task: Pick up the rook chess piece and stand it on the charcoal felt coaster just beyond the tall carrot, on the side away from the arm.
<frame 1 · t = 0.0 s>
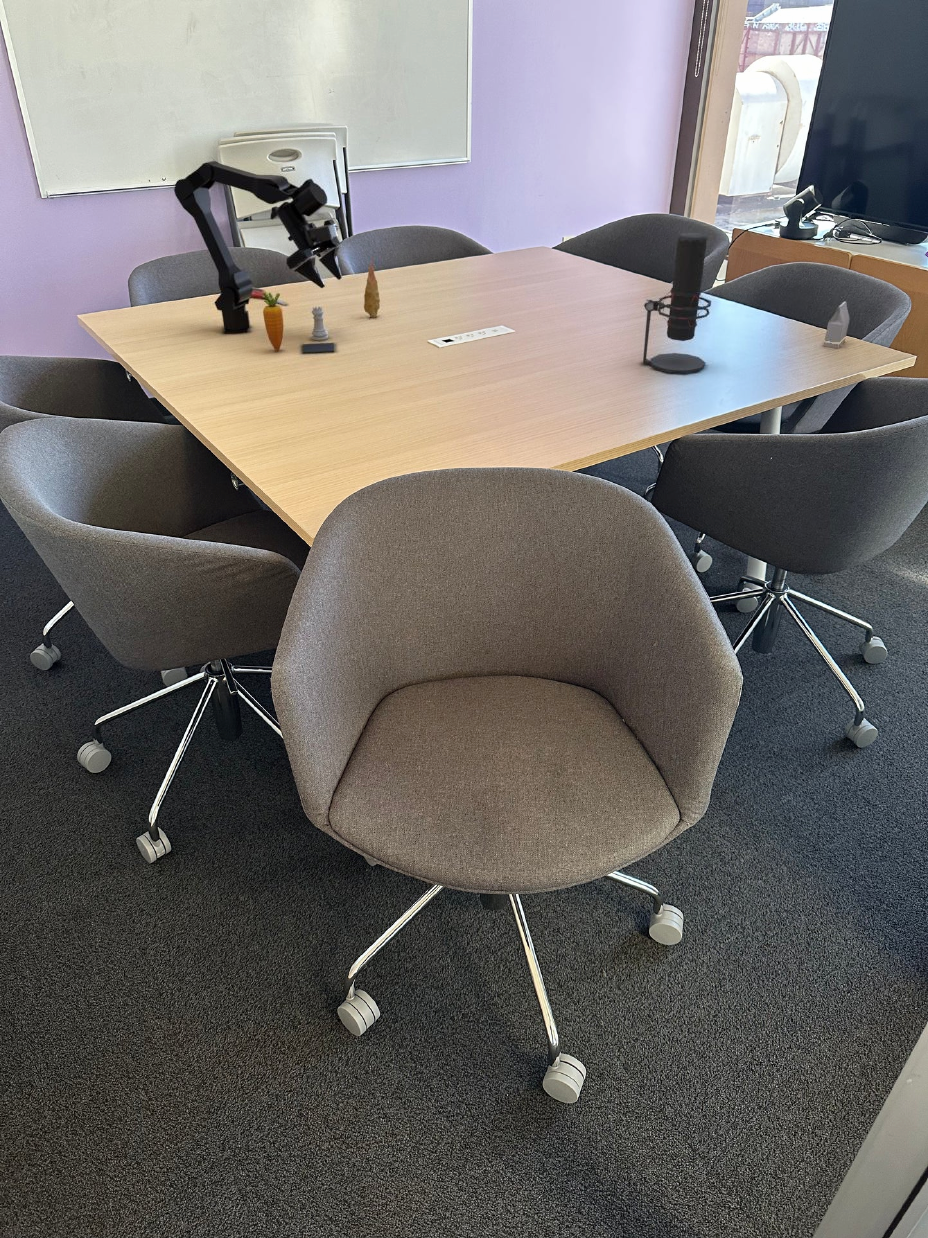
hand: (332, 282, 232), 15 cm above the table, tool tilted 35°, fingers open, 9 cm apart
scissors: (268, 298, 277), on the table
grey pointed faceted piece: (833, 344, 233), on the table
rook chess piece: (320, 339, 242), on the table
carrot: (277, 351, 233), on the table
coaster: (318, 348, 234), on the table
microphone: (674, 366, 220), on the table
stone tool: (373, 318, 258), on the table
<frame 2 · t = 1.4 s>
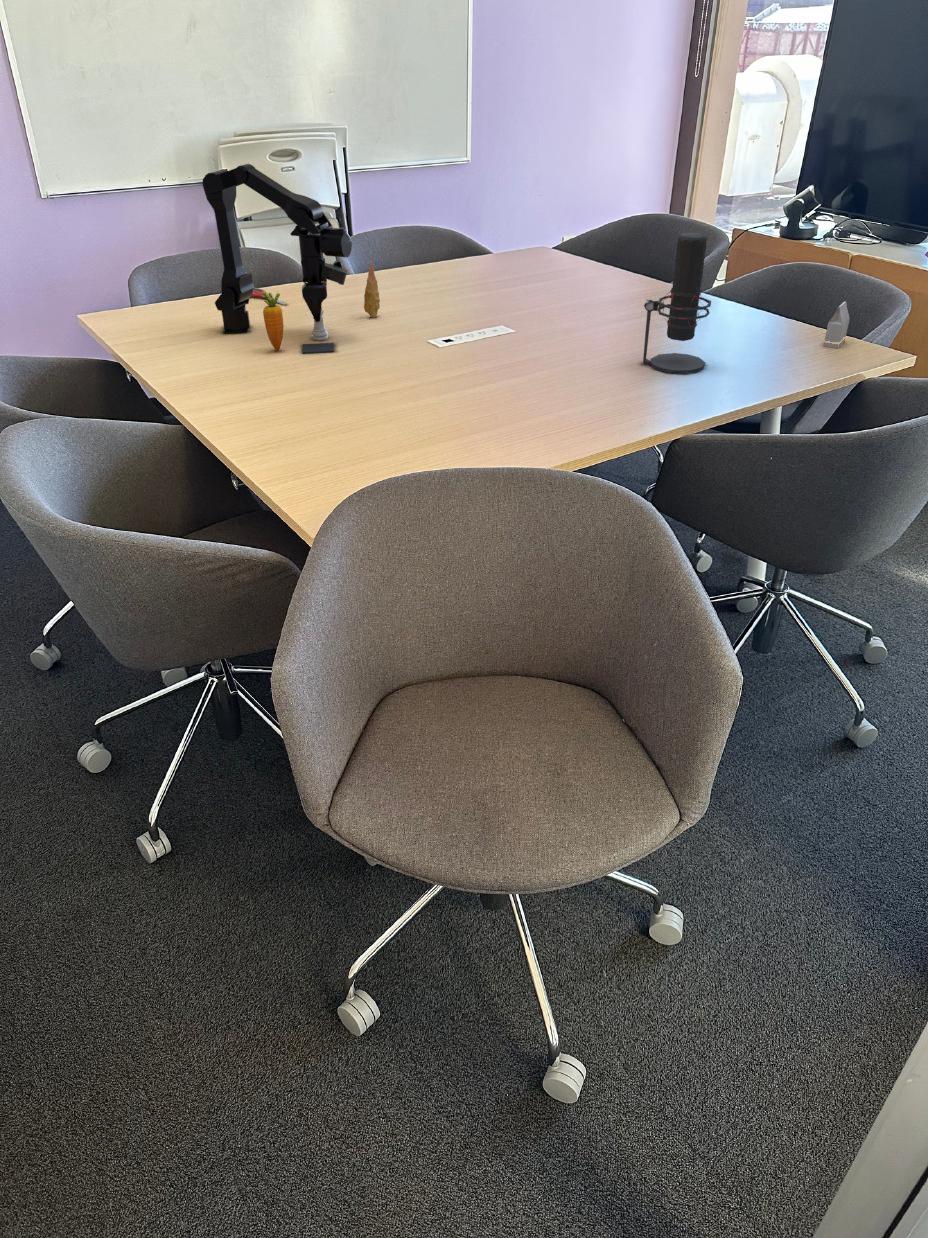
hand: (317, 316, 239), 6 cm above the table, tool pointing down, fingers open, 9 cm apart
nothing on the table moved.
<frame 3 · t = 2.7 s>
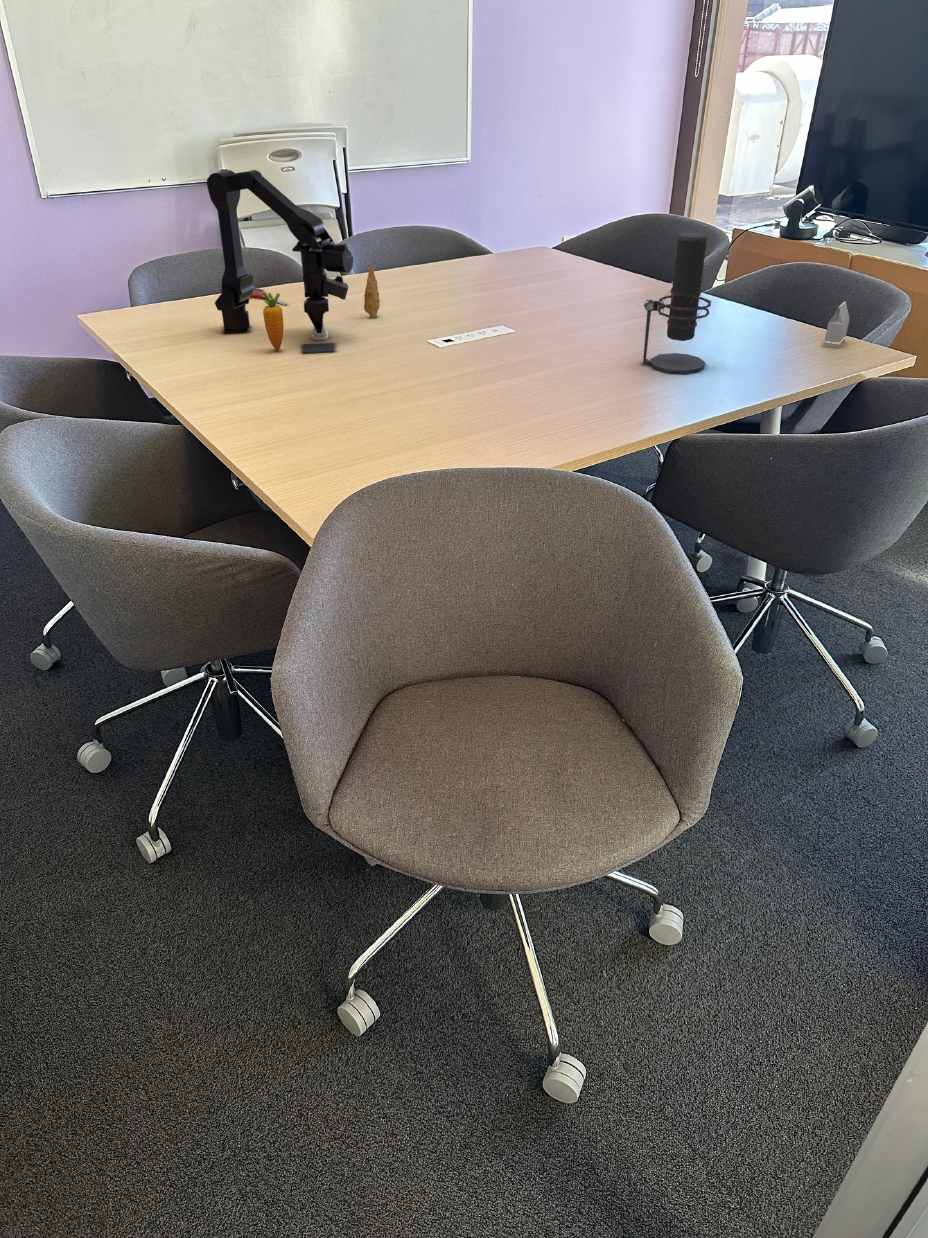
hand: (319, 330, 241), 2 cm above the table, tool pointing down, fingers closed on rook chess piece, 3 cm apart
rook chess piece: (320, 339, 242), on the table, touching gripper
everything else where it was.
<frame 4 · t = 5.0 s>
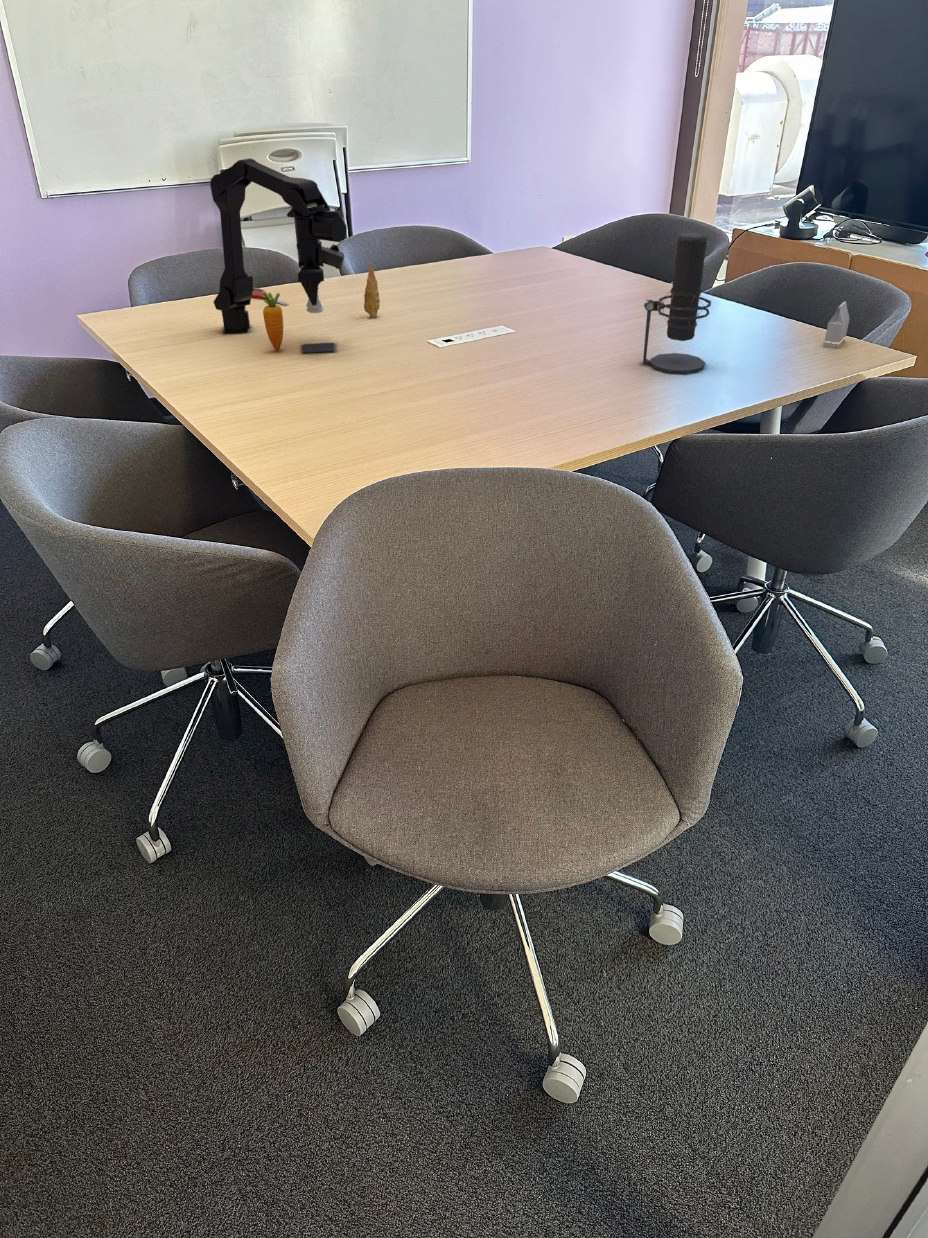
hand: (314, 302, 229), 11 cm above the table, tool pointing down, fingers closed on rook chess piece, 3 cm apart
rook chess piece: (315, 311, 231), point 9 cm above the table, touching gripper
everything else where it was.
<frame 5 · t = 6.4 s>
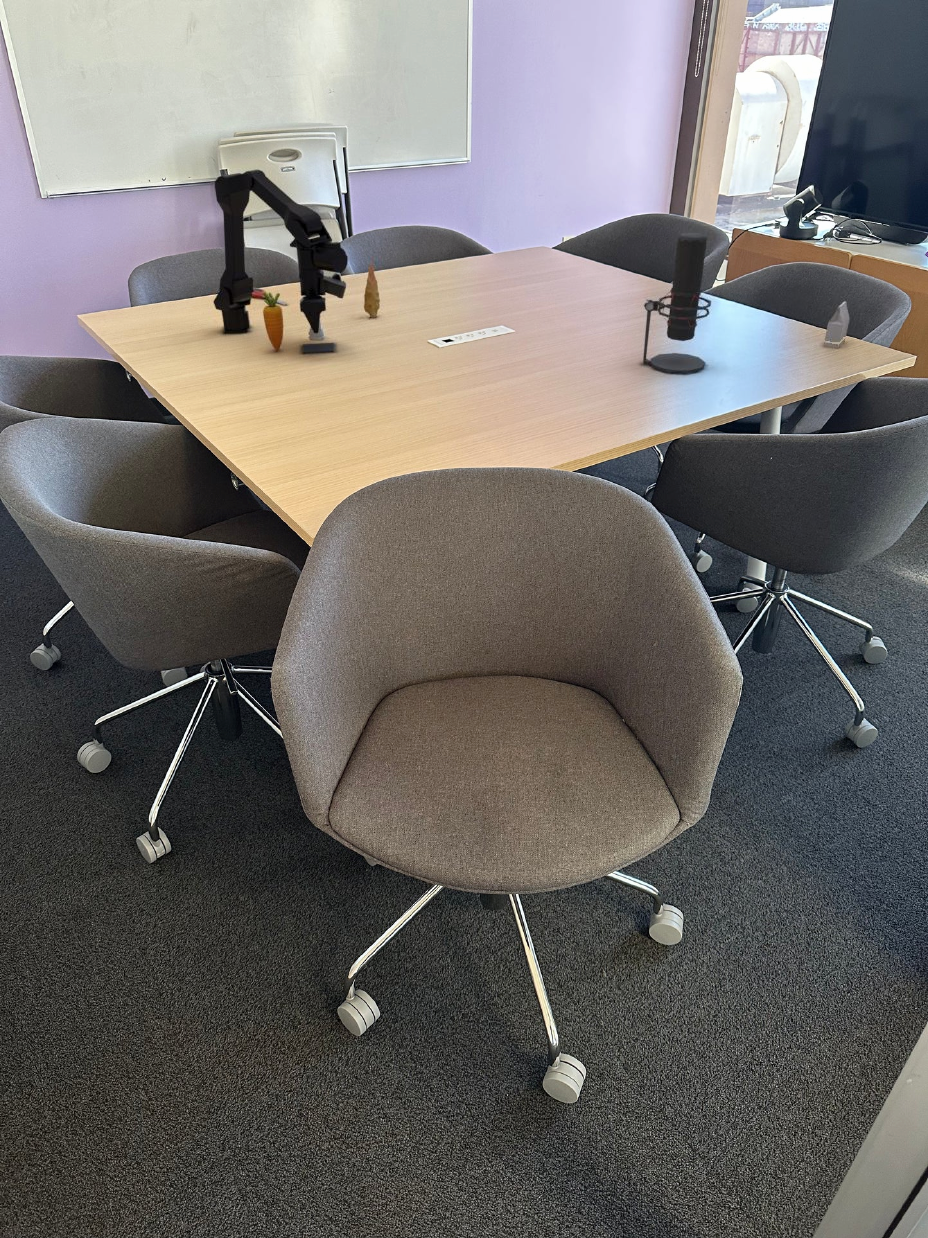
hand: (316, 330, 232), 5 cm above the table, tool pointing down, fingers closed on rook chess piece, 3 cm apart
rook chess piece: (317, 339, 233), point 2 cm above the table, touching gripper
everything else where it was.
when the fingers open (2 cm above the table, at t = 7.2 s): rook chess piece stays where it is, resting on coaster.
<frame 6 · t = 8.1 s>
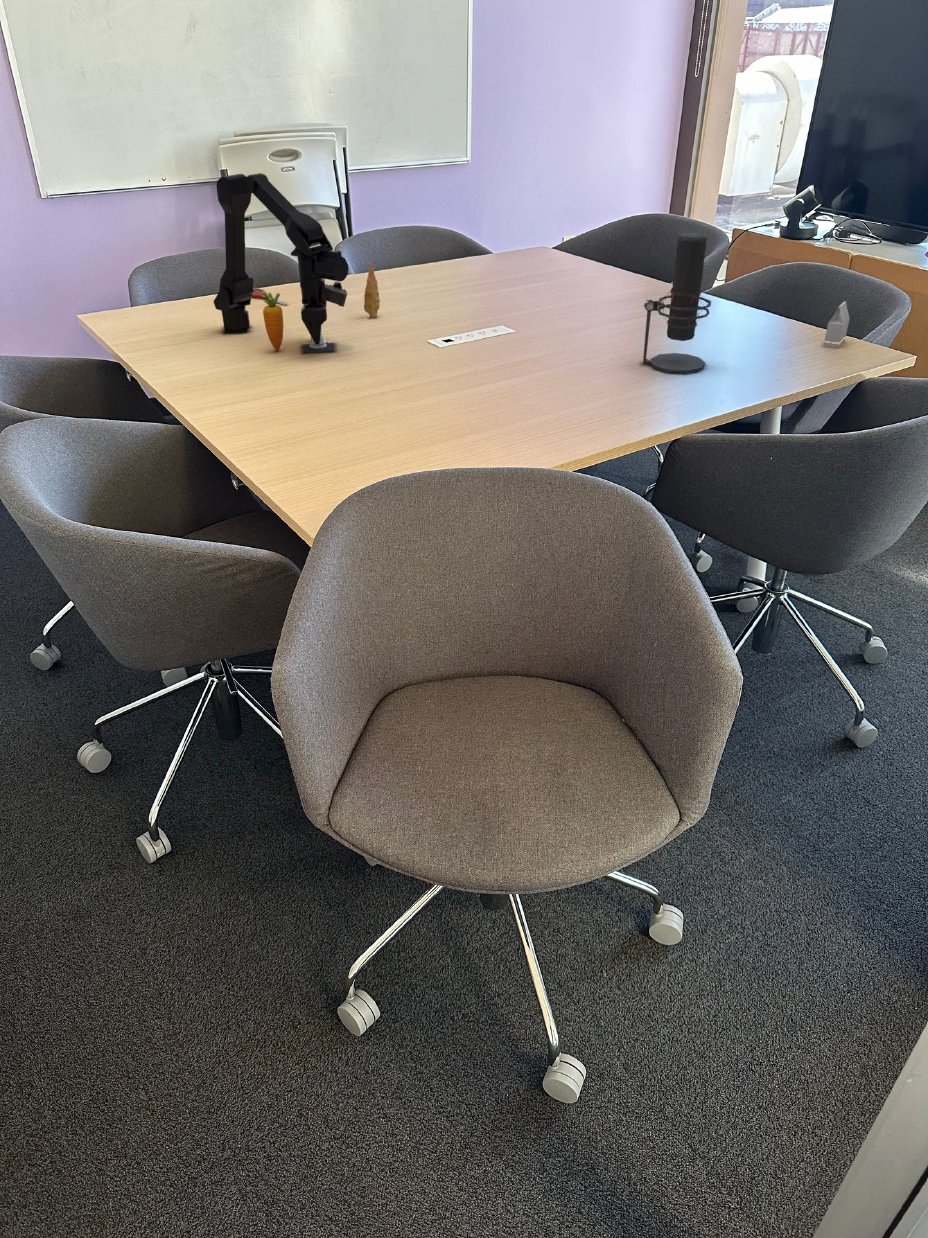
hand: (317, 338, 233), 3 cm above the table, tool pointing down, fingers open, 9 cm apart
rook chess piece: (318, 347, 234), resting on coaster
everything else where it was.
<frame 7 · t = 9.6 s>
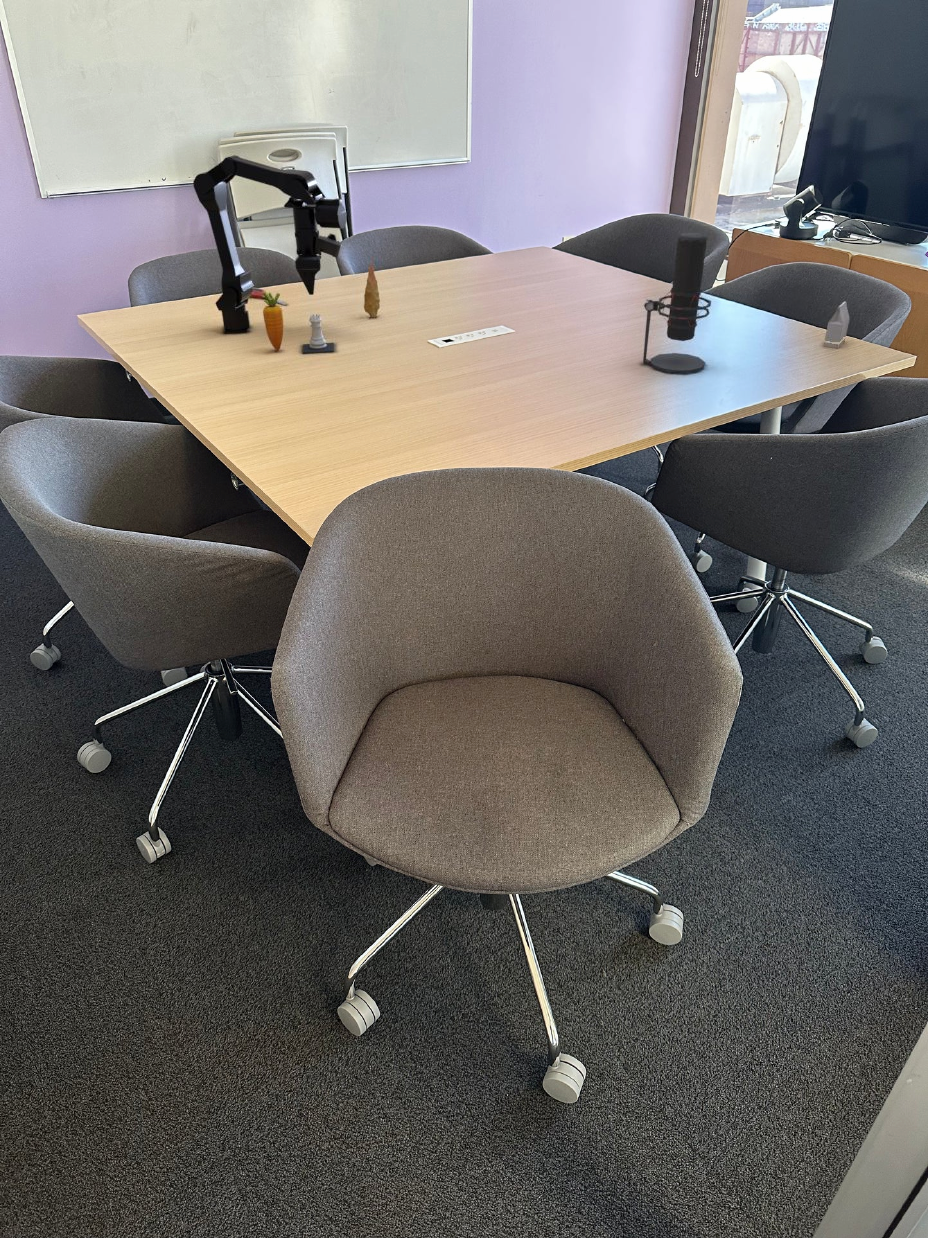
hand: (311, 290, 238), 12 cm above the table, tool pointing down, fingers open, 9 cm apart
nothing on the table moved.
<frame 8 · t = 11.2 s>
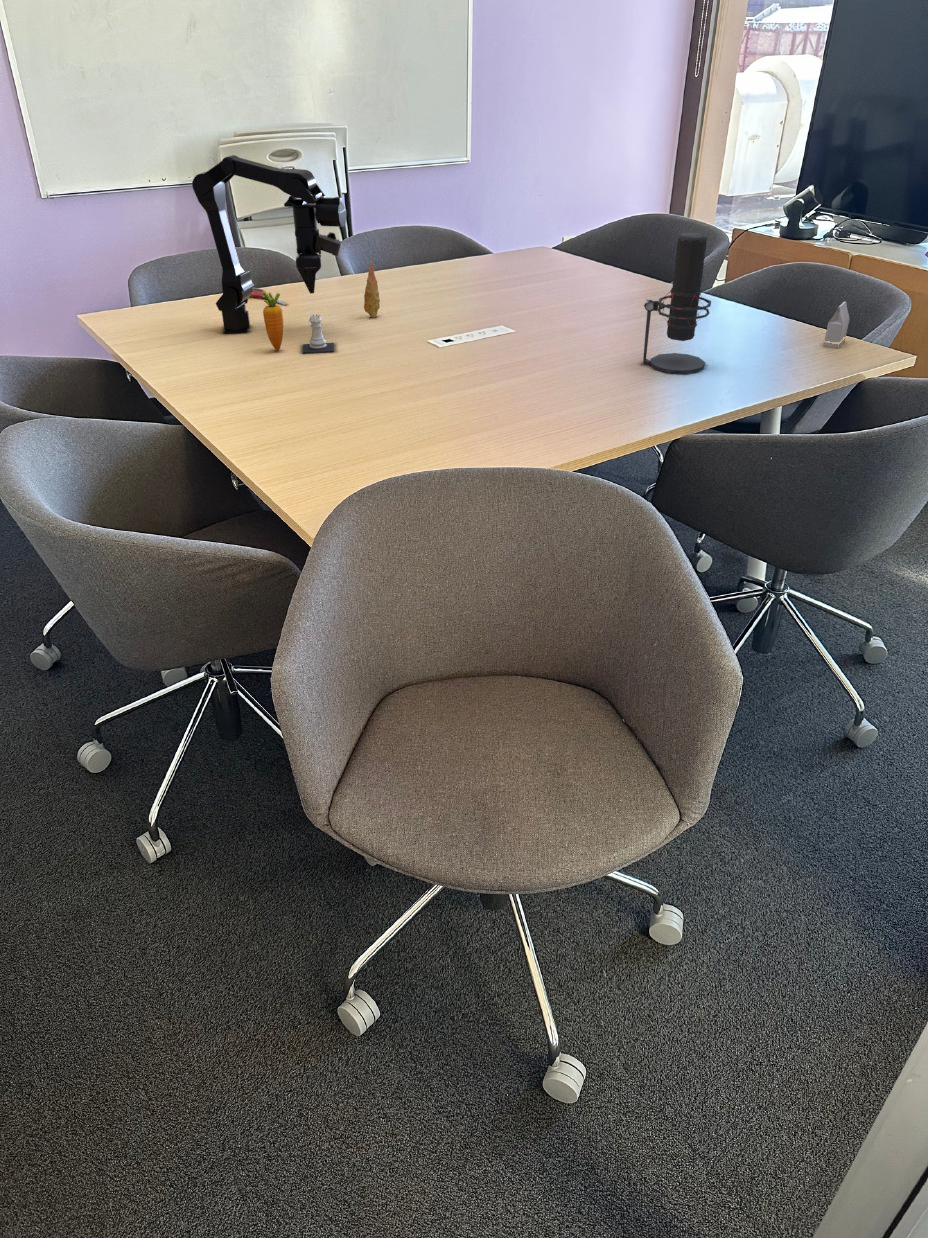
hand: (312, 288, 238), 12 cm above the table, tool pointing down, fingers open, 9 cm apart
nothing on the table moved.
at the end: rook chess piece inside the target area on the table beside the carrot (0.1 cm from its centre), resting on coaster; rook chess piece tilted 0°; carrot moved 0.2 cm from its start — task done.
